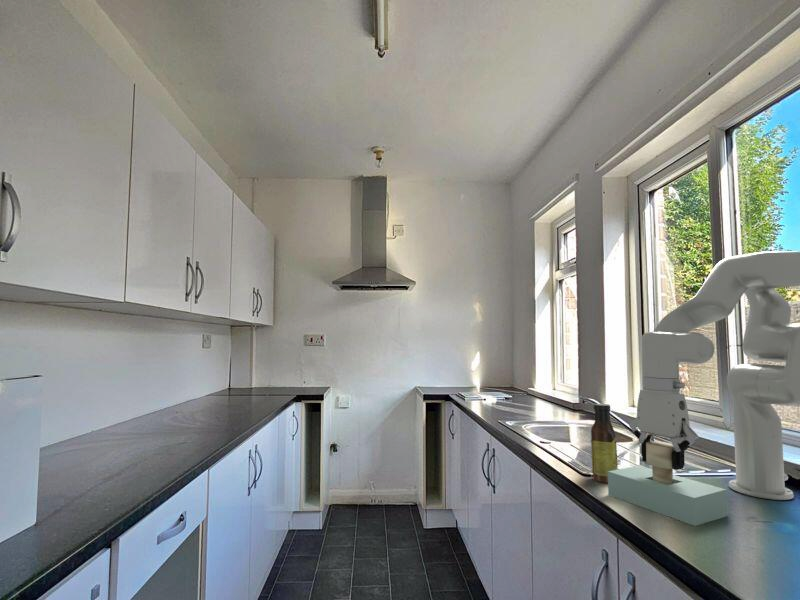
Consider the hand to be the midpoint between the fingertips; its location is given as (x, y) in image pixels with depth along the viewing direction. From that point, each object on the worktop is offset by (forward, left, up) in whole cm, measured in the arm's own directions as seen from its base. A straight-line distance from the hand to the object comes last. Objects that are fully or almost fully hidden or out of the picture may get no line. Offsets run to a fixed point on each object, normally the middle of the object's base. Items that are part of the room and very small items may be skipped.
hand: (662, 464), depth 103 cm
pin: (0, 0, -5) cm, 5 cm away
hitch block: (0, 0, -9) cm, 9 cm away
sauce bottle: (-3, -18, -9) cm, 20 cm away
